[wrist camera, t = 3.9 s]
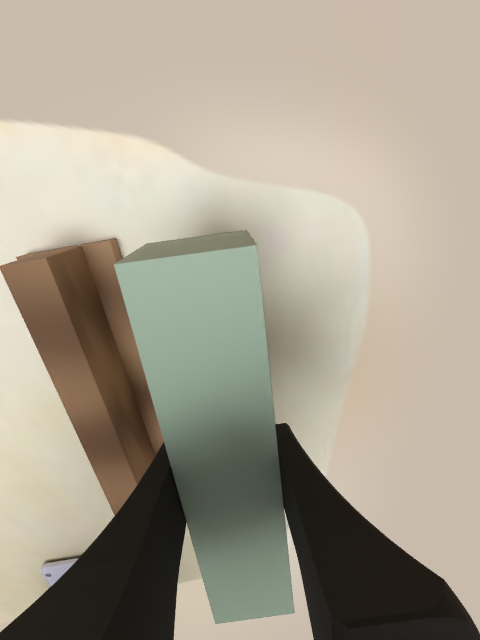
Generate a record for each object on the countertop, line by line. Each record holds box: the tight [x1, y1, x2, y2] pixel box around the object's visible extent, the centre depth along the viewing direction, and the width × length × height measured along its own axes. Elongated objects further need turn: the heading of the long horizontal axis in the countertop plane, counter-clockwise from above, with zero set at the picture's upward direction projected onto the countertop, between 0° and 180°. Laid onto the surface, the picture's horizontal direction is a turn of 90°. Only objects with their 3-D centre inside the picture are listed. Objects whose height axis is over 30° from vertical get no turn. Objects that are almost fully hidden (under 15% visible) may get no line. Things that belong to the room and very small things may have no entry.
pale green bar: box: [114, 230, 294, 624], centre depth 12 cm, size 16×4×4 cm, turn 7°
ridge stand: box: [0, 238, 164, 515], centre depth 19 cm, size 20×5×4 cm, turn 9°
